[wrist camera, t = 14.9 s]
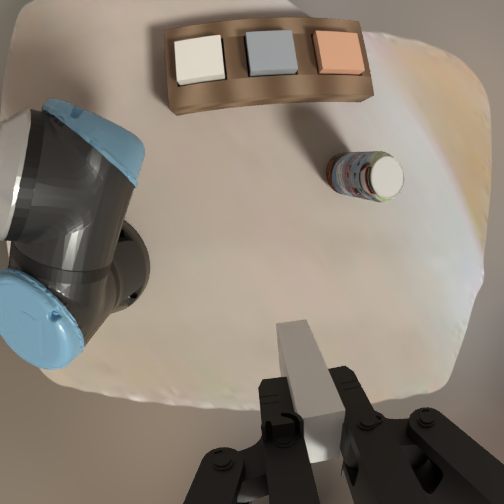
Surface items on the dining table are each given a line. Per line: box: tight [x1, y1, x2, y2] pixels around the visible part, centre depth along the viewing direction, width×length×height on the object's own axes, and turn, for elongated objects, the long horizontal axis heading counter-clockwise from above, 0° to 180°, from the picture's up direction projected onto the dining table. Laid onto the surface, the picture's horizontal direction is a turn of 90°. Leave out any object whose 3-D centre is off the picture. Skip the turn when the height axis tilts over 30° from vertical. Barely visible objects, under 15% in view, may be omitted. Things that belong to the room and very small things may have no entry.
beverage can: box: [326, 151, 404, 202], centre depth 37 cm, size 6×7×12 cm
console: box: [164, 17, 374, 115], centre depth 36 cm, size 27×12×5 cm, turn 96°
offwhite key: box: [174, 35, 225, 86], centre depth 34 cm, size 6×6×4 cm
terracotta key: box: [311, 31, 365, 76], centre depth 34 cm, size 6×6×4 cm
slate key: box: [245, 30, 298, 77], centre depth 34 cm, size 6×6×4 cm
